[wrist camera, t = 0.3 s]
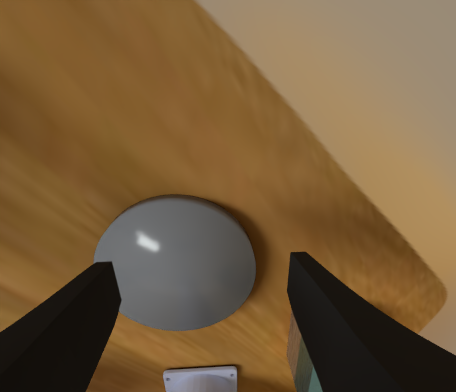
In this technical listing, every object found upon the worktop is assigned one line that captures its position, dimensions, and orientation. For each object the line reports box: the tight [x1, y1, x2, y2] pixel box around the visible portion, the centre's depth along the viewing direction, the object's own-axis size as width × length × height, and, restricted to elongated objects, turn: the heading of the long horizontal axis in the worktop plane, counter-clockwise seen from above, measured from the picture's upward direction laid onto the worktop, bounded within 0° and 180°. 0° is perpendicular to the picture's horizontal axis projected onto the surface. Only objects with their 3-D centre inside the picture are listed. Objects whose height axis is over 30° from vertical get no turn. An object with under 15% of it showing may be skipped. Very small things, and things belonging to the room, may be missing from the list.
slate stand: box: [94, 194, 256, 331], centre depth 21 cm, size 13×13×2 cm
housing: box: [287, 311, 323, 392], centre depth 23 cm, size 8×5×6 cm, turn 1°
